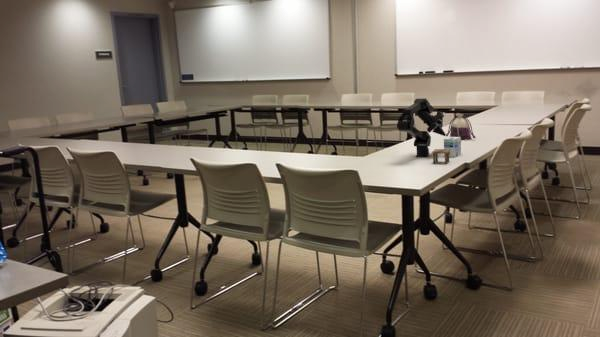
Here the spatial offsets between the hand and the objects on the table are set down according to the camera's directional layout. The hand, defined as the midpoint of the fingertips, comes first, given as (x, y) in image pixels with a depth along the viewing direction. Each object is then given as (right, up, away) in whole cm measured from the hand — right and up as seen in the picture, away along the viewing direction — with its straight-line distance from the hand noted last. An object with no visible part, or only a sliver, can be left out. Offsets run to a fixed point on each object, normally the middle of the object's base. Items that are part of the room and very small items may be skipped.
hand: (445, 135), depth 312 cm
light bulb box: (+5, -12, 0) cm, 13 cm away
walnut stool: (-7, -16, -18) cm, 25 cm away
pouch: (+27, +1, +60) cm, 66 cm away
